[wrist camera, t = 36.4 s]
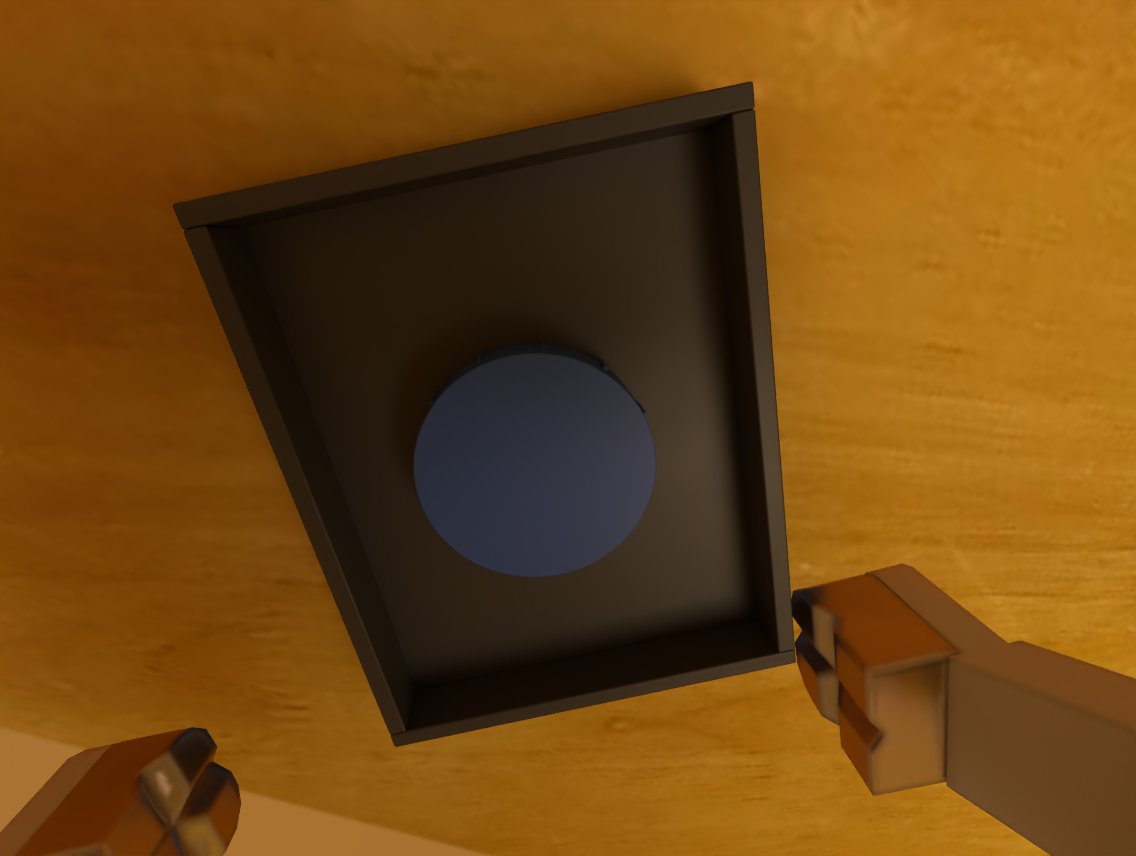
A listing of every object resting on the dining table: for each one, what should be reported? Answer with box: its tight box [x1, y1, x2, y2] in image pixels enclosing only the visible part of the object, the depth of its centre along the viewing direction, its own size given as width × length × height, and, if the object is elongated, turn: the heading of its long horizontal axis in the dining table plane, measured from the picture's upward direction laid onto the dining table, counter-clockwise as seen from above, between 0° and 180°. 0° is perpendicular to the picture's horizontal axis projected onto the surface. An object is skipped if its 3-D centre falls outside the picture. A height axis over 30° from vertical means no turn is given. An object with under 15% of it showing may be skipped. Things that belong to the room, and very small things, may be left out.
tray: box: [173, 82, 796, 747], centre depth 14 cm, size 15×12×2 cm
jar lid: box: [413, 339, 657, 577], centre depth 14 cm, size 6×6×2 cm
